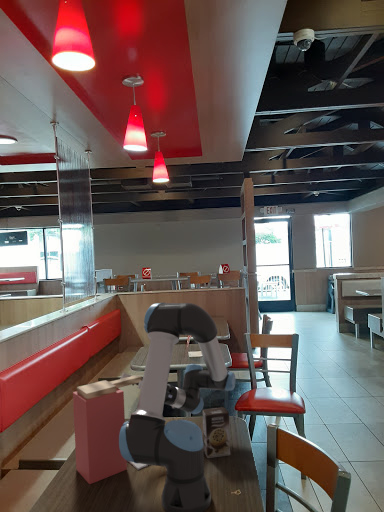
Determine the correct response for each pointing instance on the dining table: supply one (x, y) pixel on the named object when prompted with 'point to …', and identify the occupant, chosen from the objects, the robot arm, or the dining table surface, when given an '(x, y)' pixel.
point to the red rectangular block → (98, 435)
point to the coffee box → (216, 432)
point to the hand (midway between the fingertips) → (130, 379)
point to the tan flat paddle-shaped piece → (106, 387)
